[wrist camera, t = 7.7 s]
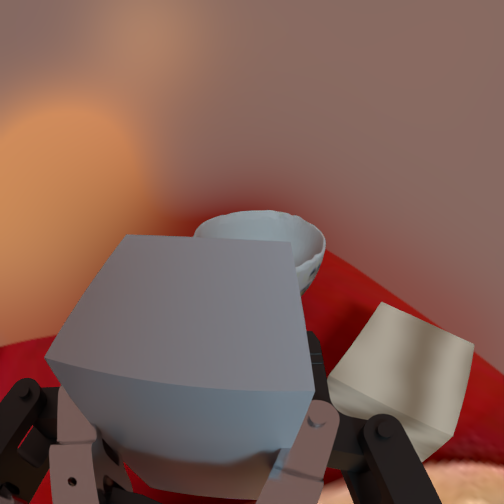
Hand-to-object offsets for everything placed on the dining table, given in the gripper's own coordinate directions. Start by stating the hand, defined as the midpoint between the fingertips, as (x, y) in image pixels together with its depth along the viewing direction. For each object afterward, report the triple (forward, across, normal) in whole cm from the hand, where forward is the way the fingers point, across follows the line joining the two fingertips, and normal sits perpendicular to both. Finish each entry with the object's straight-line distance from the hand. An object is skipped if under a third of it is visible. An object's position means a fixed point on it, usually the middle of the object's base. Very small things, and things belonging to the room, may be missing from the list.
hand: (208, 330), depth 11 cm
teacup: (+16, -2, +13) cm, 20 cm away
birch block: (+4, -14, +13) cm, 19 cm away
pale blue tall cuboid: (-3, 0, +6) cm, 7 cm away
